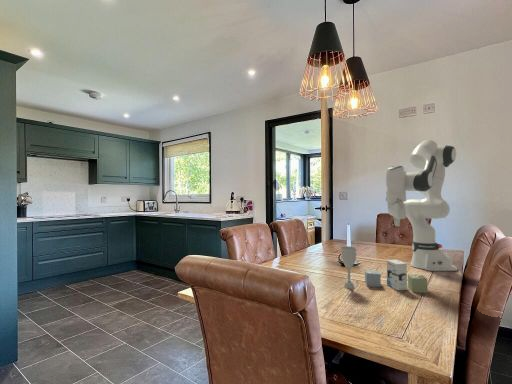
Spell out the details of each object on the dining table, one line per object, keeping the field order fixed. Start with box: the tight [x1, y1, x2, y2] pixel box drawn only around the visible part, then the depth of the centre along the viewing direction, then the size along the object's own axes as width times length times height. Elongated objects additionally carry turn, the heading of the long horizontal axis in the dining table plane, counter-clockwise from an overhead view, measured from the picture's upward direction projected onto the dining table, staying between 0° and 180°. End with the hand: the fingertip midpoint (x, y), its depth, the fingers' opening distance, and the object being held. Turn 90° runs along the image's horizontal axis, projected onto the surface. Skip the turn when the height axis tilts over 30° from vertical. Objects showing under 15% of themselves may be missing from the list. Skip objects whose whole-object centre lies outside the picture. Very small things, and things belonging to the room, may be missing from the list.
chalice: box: [340, 246, 358, 290], centre depth 132 cm, size 7×7×18 cm
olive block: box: [407, 274, 428, 294], centre depth 127 cm, size 6×6×6 cm
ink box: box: [386, 259, 408, 291], centre depth 131 cm, size 8×5×12 cm, turn 5°
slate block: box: [364, 269, 382, 288], centre depth 135 cm, size 6×6×6 cm
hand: (397, 225), depth 144 cm, fingers closed
